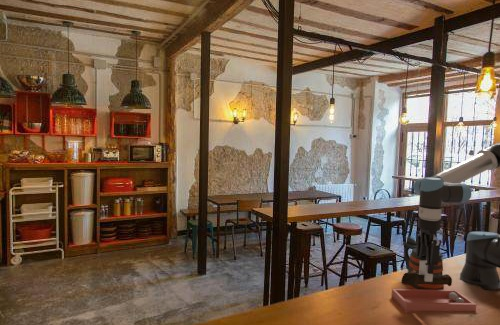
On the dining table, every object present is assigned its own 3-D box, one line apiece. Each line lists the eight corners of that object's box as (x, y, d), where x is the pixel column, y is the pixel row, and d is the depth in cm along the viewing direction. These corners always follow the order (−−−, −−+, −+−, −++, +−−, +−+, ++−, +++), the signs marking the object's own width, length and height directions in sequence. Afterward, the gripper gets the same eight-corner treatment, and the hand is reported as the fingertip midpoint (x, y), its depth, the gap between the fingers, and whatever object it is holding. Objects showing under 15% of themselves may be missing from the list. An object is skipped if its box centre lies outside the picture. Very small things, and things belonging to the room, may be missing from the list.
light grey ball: (454, 298, 133) (455, 290, 133) (459, 302, 130) (460, 294, 130) (446, 298, 133) (447, 290, 133) (451, 302, 130) (452, 294, 130)
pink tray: (455, 298, 136) (455, 289, 135) (475, 313, 124) (476, 304, 123) (391, 297, 135) (391, 289, 135) (405, 312, 123) (406, 303, 123)
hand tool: (445, 282, 131) (446, 271, 131) (452, 287, 127) (453, 275, 127) (398, 281, 131) (398, 269, 130) (403, 286, 127) (403, 274, 126)
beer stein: (389, 280, 151) (392, 237, 150) (412, 276, 157) (415, 234, 156) (427, 299, 134) (430, 250, 133) (451, 293, 140) (454, 246, 139)
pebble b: (460, 303, 129) (461, 296, 129) (466, 307, 126) (466, 299, 126) (453, 303, 129) (453, 296, 129) (458, 307, 126) (458, 299, 126)
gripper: (408, 213, 135) (405, 270, 137) (431, 223, 119) (427, 288, 120) (427, 214, 135) (423, 270, 137) (452, 224, 119) (448, 288, 120)
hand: (425, 278), depth 128 cm, fingers closed on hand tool, 3 cm apart
